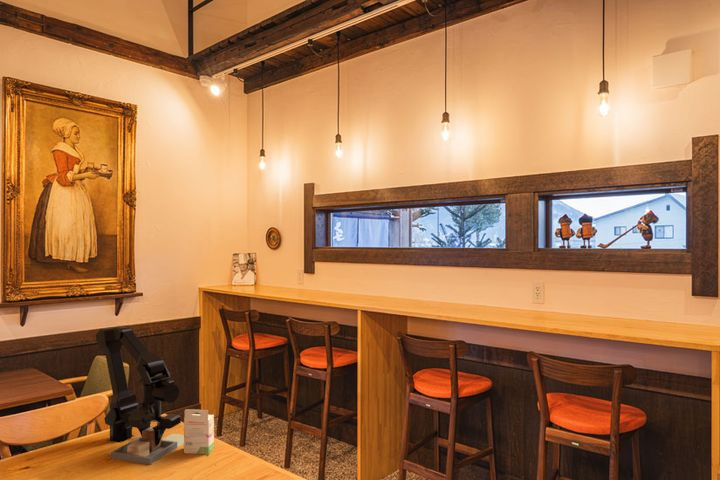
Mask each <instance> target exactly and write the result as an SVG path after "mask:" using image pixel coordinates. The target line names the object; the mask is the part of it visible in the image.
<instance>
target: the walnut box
mask: <svg viewBox="0 0 720 480" xmlns="http://www.w3.org/2000/svg"><path fill="white" fill-rule="evenodd" d="M153 427H154V426H150V427H149V428H147V429H145V430H143V431H142V436H141V437H142V441H145V442H149V450H150V451H153V450H155V449H156V448H158V447H160V446H161V440H162V439H161V440H160V443H159V445H157V446H156V445H155V431H154V429H153Z"/></svg>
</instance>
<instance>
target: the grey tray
mask: <svg viewBox="0 0 720 480" xmlns="http://www.w3.org/2000/svg"><path fill="white" fill-rule="evenodd" d="M136 441H142V436H137V437H136V438H135V439H133V440H131V441H129V442H127V443H124V445H122V446H120V447H118V448H116V449H114V450H112V451H110V459H112V460H116V461H124V462H131V463H135V464H142V465H149V466H151V465H152V464H154V463H156V462H157V461H159V460H161V459H162V458H164V457H165V456H167V455H168V454H170V453H171V452H173V451H174V450H176V449H177V448H178V447H177V442H175V441H168V440H163V439H161V446H160V447H158V448H156V449H155V450H153V451H150V450H149V455H148V456H146V457H144V456H138V455H132V454H127V446H128V445H130V444H132V443H134V442H136Z"/></svg>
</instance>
